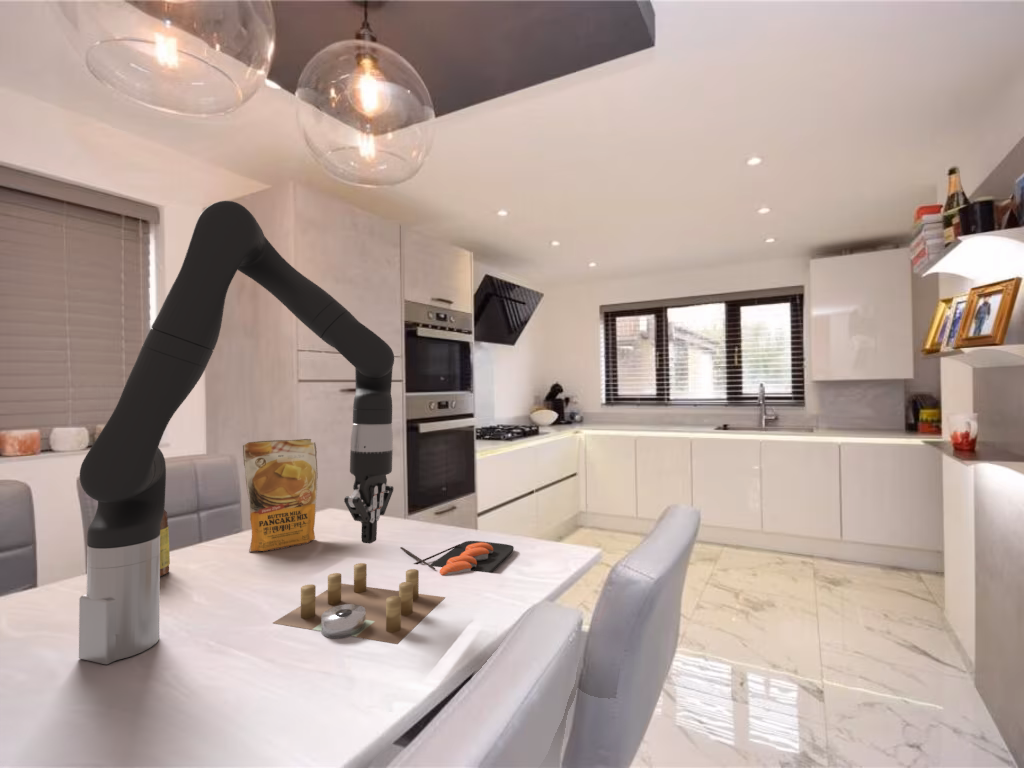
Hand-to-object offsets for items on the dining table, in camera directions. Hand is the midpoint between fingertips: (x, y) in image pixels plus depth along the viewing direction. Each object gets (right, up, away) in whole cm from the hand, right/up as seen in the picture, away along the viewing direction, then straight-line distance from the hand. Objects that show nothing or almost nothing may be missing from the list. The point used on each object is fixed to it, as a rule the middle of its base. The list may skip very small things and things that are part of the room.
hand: (369, 541), depth 90 cm
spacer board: (-1, -13, -1) cm, 13 cm away
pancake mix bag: (-35, -14, +40) cm, 55 cm away
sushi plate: (+9, -14, +27) cm, 32 cm away
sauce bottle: (-54, -14, +19) cm, 59 cm away
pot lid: (-2, -12, -8) cm, 14 cm away
